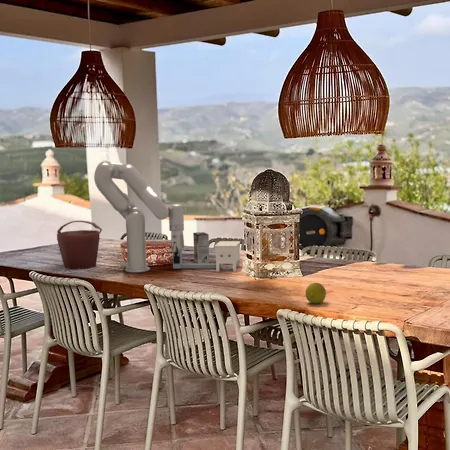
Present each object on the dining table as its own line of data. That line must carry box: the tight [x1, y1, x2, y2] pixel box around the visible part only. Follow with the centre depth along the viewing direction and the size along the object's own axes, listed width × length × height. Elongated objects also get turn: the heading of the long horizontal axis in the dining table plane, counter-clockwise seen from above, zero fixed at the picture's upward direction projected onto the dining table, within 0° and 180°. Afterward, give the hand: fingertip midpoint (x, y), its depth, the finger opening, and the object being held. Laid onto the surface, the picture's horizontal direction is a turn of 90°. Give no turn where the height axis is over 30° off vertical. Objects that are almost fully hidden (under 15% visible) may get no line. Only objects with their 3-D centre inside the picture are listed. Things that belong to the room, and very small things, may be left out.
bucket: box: [56, 220, 103, 270], centre depth 348 cm, size 24×22×25 cm
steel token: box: [220, 264, 233, 271], centre depth 332 cm, size 6×6×2 cm
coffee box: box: [192, 231, 210, 264], centre depth 353 cm, size 9×6×16 cm
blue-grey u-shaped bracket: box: [172, 249, 216, 269], centre depth 334 cm, size 22×4×11 cm, turn 81°
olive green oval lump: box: [305, 282, 327, 305], centre depth 251 cm, size 11×8×8 cm
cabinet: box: [214, 240, 241, 272], centre depth 331 cm, size 11×18×13 cm, turn 171°
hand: (177, 262), depth 336 cm, fingers closed on blue-grey u-shaped bracket, 4 cm apart
